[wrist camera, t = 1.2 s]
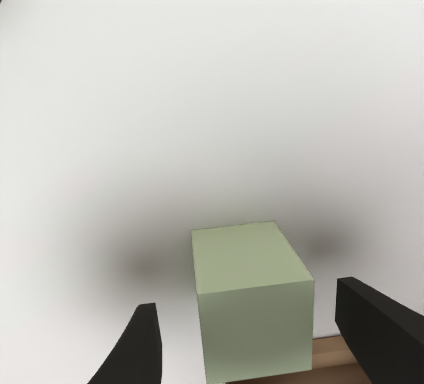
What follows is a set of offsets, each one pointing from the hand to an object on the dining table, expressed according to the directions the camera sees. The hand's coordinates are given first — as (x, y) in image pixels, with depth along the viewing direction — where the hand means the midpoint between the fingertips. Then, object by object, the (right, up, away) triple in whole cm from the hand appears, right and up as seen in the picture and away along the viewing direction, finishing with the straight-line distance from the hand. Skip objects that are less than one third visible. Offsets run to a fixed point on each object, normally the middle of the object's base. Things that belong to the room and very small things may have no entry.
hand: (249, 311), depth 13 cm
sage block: (0, +1, +4) cm, 4 cm away
